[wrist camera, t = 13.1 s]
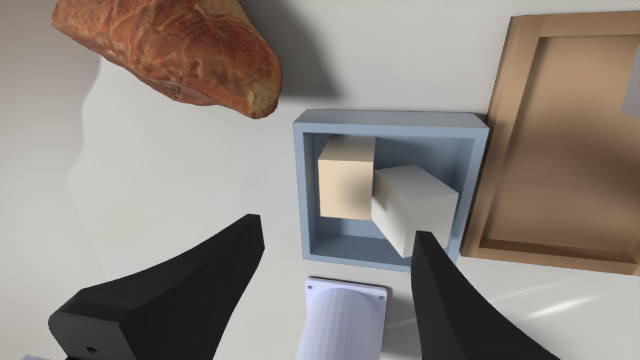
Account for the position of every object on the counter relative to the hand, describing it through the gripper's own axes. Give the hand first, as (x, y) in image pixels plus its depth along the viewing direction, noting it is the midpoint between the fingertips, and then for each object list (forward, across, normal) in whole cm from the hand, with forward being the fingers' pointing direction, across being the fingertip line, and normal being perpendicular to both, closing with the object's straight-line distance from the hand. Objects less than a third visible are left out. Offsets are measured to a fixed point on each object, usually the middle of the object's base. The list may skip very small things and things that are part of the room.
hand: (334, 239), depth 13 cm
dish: (+10, -2, +2) cm, 10 cm away
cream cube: (+9, 0, 0) cm, 9 cm away
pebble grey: (+9, -3, +2) cm, 9 cm away
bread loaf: (+10, +10, -8) cm, 17 cm away
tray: (+10, -14, -1) cm, 18 cm away
